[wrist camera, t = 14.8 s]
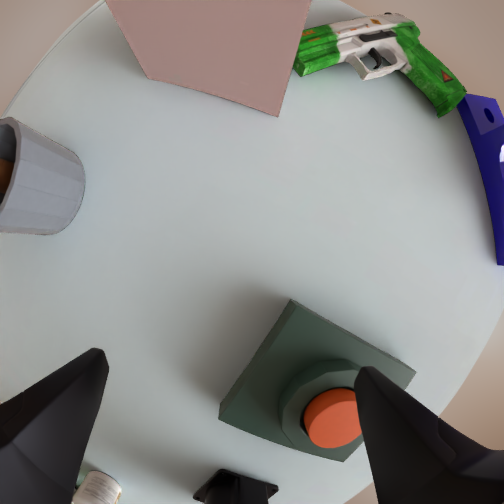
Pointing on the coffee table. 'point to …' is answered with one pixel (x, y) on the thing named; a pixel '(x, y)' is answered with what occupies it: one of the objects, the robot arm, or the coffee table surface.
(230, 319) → the coffee table surface
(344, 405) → the button
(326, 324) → the switch
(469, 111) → the mounting bracket
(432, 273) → the coffee table surface
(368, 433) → the robot arm
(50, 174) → the grey cylindrical cup
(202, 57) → the greeting card
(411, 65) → the handgun
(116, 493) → the pill bottle
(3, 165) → the brush
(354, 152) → the coffee table surface
